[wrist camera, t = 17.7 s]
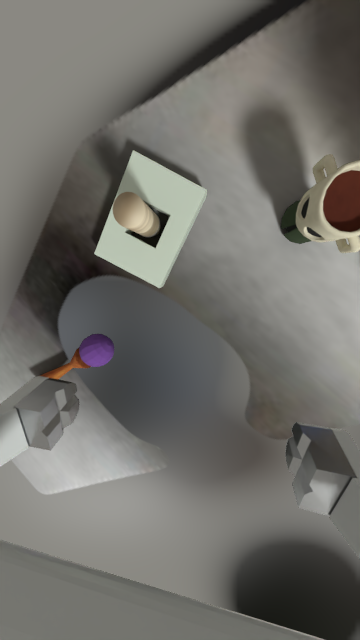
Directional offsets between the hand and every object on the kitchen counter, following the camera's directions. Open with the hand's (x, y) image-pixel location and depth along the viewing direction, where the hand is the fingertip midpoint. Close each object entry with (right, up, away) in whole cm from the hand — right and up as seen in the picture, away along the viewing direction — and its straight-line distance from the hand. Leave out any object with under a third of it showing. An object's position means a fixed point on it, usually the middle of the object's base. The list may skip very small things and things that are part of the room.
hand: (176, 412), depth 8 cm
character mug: (+19, +19, +26) cm, 37 cm away
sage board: (-5, +19, +29) cm, 35 cm away
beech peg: (-5, +19, +29) cm, 35 cm away
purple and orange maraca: (-21, -5, +37) cm, 43 cm away
